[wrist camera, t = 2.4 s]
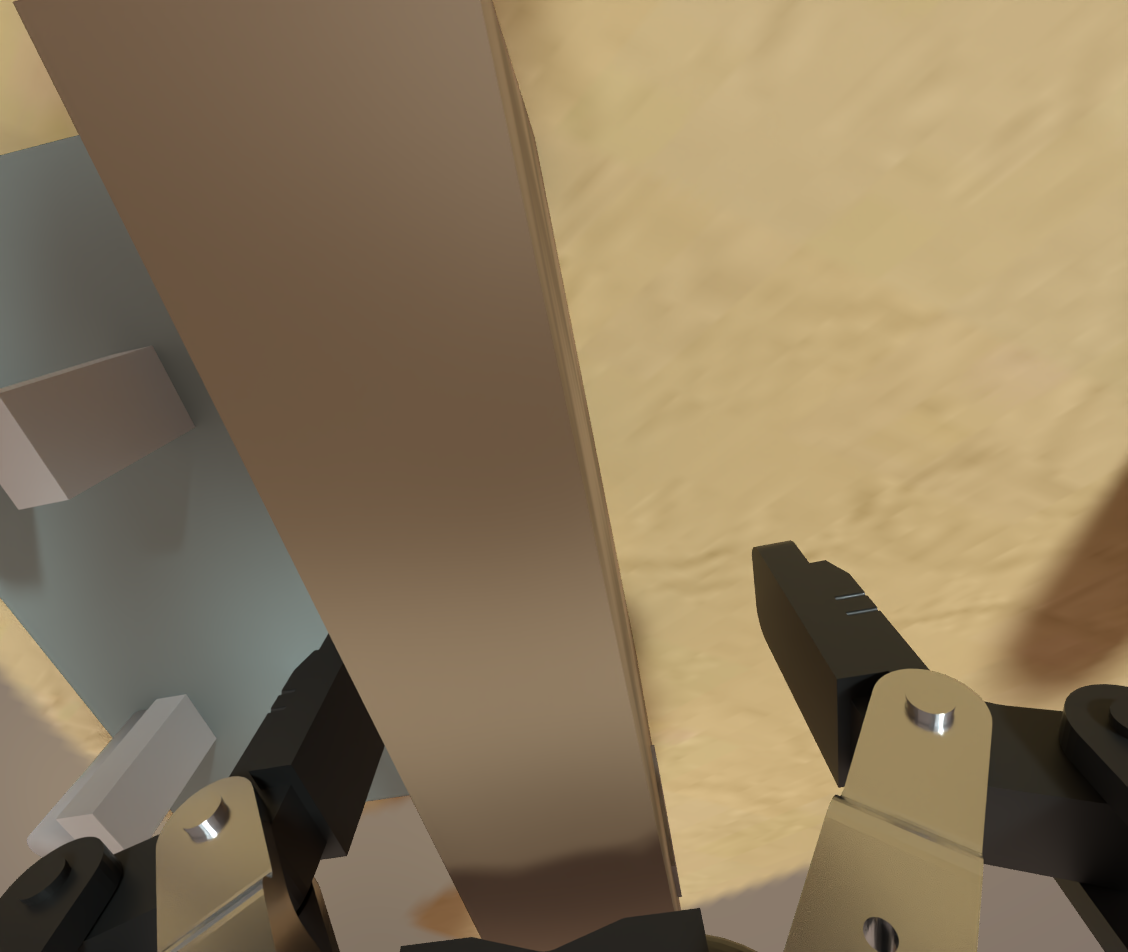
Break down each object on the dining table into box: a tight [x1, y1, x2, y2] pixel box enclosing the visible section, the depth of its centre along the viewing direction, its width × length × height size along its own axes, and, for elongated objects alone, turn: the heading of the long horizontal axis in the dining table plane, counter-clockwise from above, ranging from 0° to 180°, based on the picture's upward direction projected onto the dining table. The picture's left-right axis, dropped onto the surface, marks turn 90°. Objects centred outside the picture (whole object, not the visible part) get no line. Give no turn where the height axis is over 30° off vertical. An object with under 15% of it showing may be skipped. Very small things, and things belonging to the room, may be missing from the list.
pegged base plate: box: [0, 135, 409, 858], centre depth 17 cm, size 24×12×6 cm, turn 12°
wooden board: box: [13, 0, 682, 952], centre depth 13 cm, size 18×3×12 cm, turn 12°
